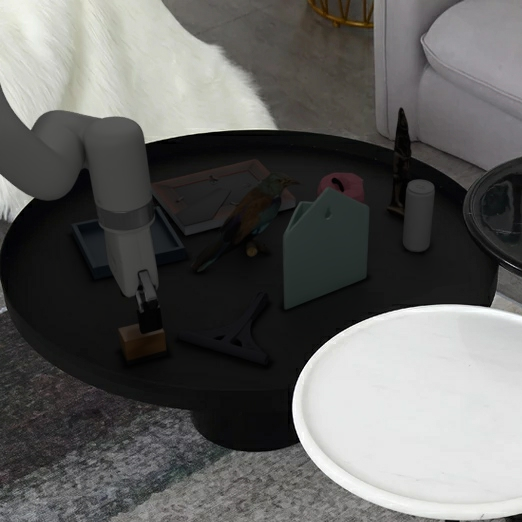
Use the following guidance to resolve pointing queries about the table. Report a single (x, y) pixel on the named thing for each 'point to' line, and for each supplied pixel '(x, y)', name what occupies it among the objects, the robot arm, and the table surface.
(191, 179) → the picture frame
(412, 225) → the beverage can
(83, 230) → the tray
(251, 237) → the bird figurine
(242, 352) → the bracket
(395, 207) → the statue
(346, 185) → the apple
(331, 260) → the planter
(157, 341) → the brown wooden block
